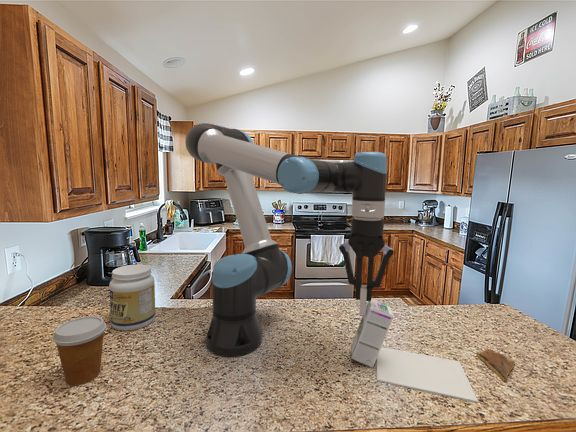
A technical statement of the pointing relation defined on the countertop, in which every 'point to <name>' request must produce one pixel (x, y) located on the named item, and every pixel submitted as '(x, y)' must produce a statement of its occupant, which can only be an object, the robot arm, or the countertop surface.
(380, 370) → the mat
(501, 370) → the shard
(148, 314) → the supplement tub
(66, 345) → the disposable coffee cup
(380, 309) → the syrup box
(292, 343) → the countertop surface
